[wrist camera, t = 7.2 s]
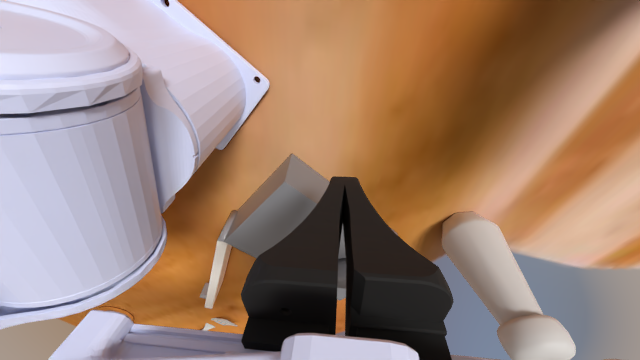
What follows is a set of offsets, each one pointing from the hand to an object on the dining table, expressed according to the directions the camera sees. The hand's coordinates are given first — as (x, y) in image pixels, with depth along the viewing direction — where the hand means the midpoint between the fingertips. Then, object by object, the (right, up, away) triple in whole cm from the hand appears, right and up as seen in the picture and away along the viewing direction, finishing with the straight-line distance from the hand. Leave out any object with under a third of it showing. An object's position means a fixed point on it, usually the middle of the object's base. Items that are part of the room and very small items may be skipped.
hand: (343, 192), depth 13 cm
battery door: (-14, -8, +18) cm, 24 cm away
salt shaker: (+15, -4, +14) cm, 21 cm away
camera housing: (-1, -4, +14) cm, 15 cm away
